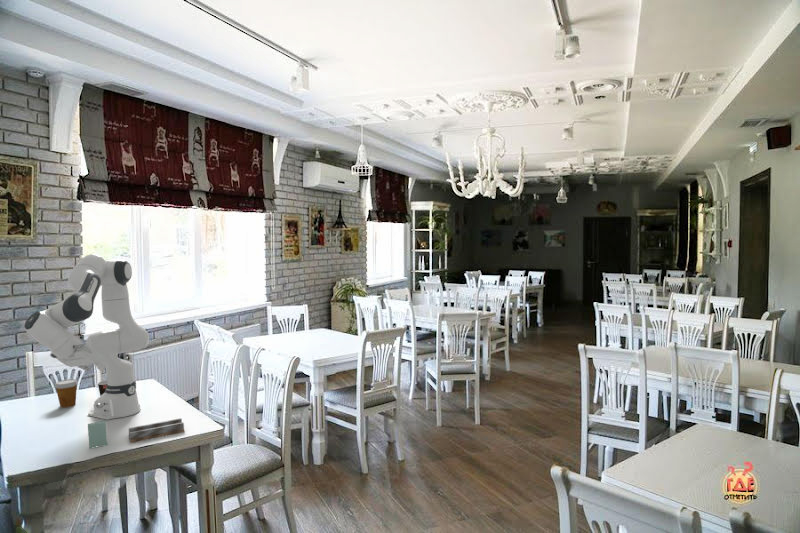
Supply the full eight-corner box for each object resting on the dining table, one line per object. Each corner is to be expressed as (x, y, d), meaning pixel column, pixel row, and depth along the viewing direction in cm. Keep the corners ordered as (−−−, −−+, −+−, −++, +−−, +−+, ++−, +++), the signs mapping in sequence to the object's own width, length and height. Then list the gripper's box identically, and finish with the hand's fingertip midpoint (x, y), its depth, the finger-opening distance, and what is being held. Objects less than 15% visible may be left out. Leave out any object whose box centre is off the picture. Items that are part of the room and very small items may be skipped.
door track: (130, 443, 209) (129, 434, 208) (128, 435, 216) (128, 427, 216) (184, 432, 219) (184, 423, 218) (181, 425, 226) (180, 417, 226)
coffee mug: (105, 399, 266) (104, 379, 266) (122, 398, 266) (121, 379, 265) (91, 407, 255) (90, 386, 254) (109, 406, 254) (107, 386, 254)
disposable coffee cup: (83, 404, 259) (81, 380, 258) (62, 410, 251) (60, 385, 250) (73, 401, 264) (71, 377, 263) (52, 407, 256) (50, 382, 255)
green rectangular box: (89, 448, 204) (87, 425, 204) (89, 446, 206) (87, 423, 206) (107, 445, 207) (105, 422, 207) (106, 442, 209) (105, 420, 209)
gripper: (88, 337, 192) (116, 360, 199) (59, 342, 202) (87, 364, 210) (76, 351, 187) (106, 374, 195) (47, 356, 198) (76, 377, 205)
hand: (96, 369), depth 202 cm, fingers open, 8 cm apart
